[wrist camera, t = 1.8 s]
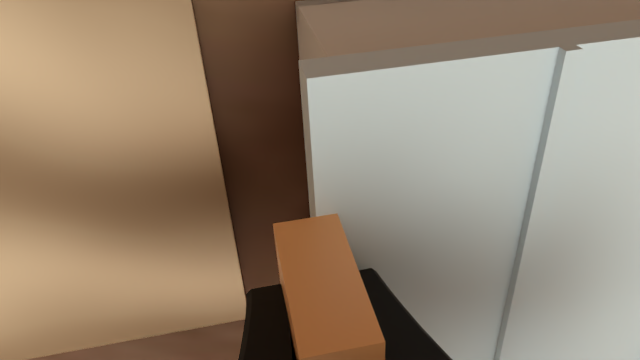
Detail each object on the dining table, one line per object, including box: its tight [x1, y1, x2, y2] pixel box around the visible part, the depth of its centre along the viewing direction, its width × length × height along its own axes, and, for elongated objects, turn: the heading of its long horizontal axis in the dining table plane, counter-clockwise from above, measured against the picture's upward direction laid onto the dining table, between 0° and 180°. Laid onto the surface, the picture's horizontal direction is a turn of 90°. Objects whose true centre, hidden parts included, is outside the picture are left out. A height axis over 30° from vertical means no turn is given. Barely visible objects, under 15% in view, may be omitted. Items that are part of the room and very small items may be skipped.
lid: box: [273, 19, 640, 360], centre depth 11 cm, size 14×10×4 cm
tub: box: [295, 0, 640, 60], centre depth 15 cm, size 12×9×5 cm
